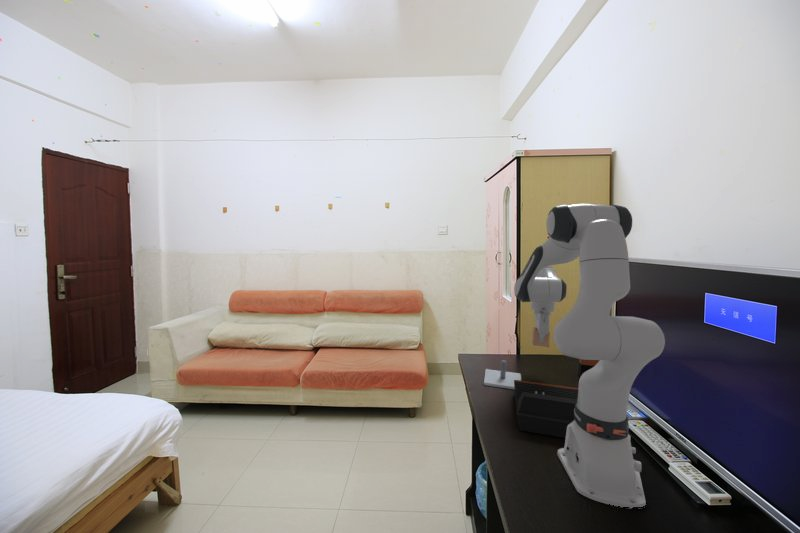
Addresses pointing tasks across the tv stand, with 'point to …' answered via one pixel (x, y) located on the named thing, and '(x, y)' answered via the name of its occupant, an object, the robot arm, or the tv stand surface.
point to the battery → (586, 365)
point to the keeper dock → (500, 382)
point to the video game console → (544, 407)
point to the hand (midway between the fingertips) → (540, 338)
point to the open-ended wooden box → (536, 338)
